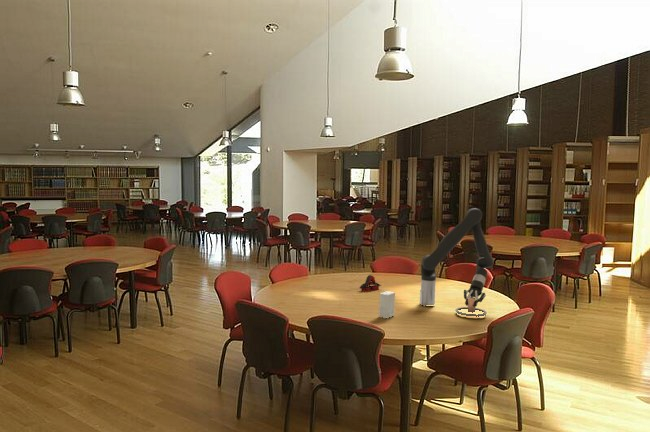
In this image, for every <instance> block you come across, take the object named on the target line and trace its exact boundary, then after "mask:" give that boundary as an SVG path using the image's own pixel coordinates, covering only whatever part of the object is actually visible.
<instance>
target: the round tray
mask: <svg viewBox="0 0 650 432" xmlns="http://www.w3.org/2000/svg"><path fill="white" fill-rule="evenodd" d="M461 309H468V306H462V307H457V308H455V311H456V312H457V313H458V314H461V315H466V316H476V317H477V316H478V317H479V316H484V315H486V314H487V313H488V312H487V311H486V310H485V309H481V308H478V307H475V310H479V311H482V312H484V313H483V314H478V315H476V314H466V313H462V312H459V311H458V310H461Z"/></svg>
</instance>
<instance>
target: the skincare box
mask: <svg viewBox="0 0 650 432" xmlns="http://www.w3.org/2000/svg"><path fill="white" fill-rule="evenodd" d="M395 298H396V292H393V291H390V290H387V291H384V292H380V293H379V308H378V317H379V318H382V317H383V319H385V318H387V319H390V318H392V316H393V317H394V316H395V302H396V299H395ZM389 317H390V318H389Z"/></svg>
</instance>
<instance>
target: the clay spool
mask: <svg viewBox="0 0 650 432" xmlns="http://www.w3.org/2000/svg"><path fill="white" fill-rule="evenodd" d="M475 300H476V298H475V297H468V306H467V307H468V312H472V313H473V312H475V308H476V307H474V306H473V305H474V302H475Z"/></svg>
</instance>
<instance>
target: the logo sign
mask: <svg viewBox="0 0 650 432" xmlns="http://www.w3.org/2000/svg"><path fill="white" fill-rule="evenodd" d="M380 287H382V285H381V284H380V283H378V282H376V280H375V276H373V275H371V274H368V275H367V277H366V279H365V282H364V283H362V284H361V285H360V286H359V289H360V290H361V292H371V291H378V290H379V289H380Z"/></svg>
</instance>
